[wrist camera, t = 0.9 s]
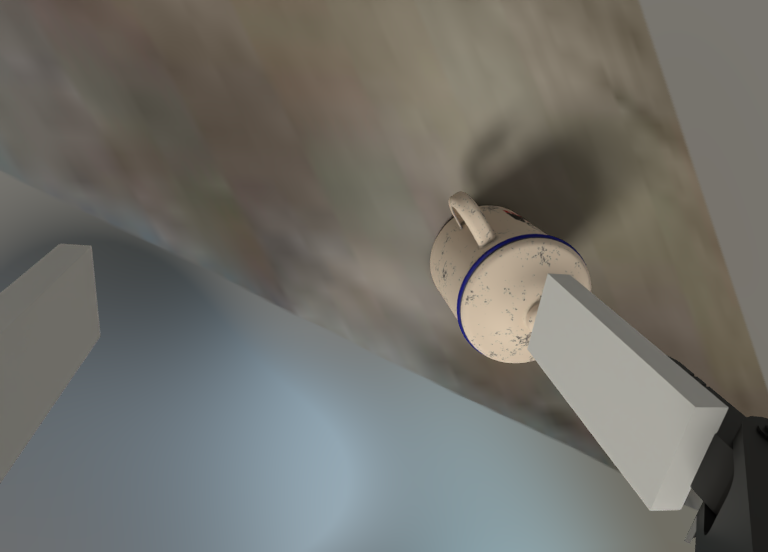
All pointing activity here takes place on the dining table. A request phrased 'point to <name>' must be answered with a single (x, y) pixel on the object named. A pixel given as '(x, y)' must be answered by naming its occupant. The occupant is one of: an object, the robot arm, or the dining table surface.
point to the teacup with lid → (497, 275)
